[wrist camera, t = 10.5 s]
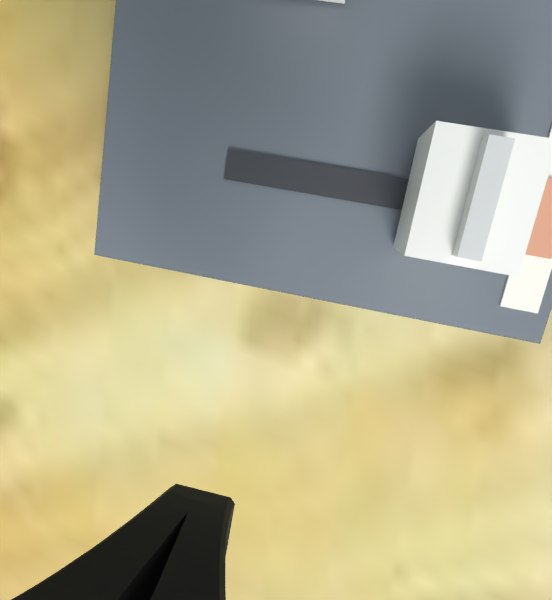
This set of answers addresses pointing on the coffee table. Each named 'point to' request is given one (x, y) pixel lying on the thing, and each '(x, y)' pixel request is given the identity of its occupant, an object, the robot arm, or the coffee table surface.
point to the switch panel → (317, 145)
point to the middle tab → (336, 0)
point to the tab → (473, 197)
